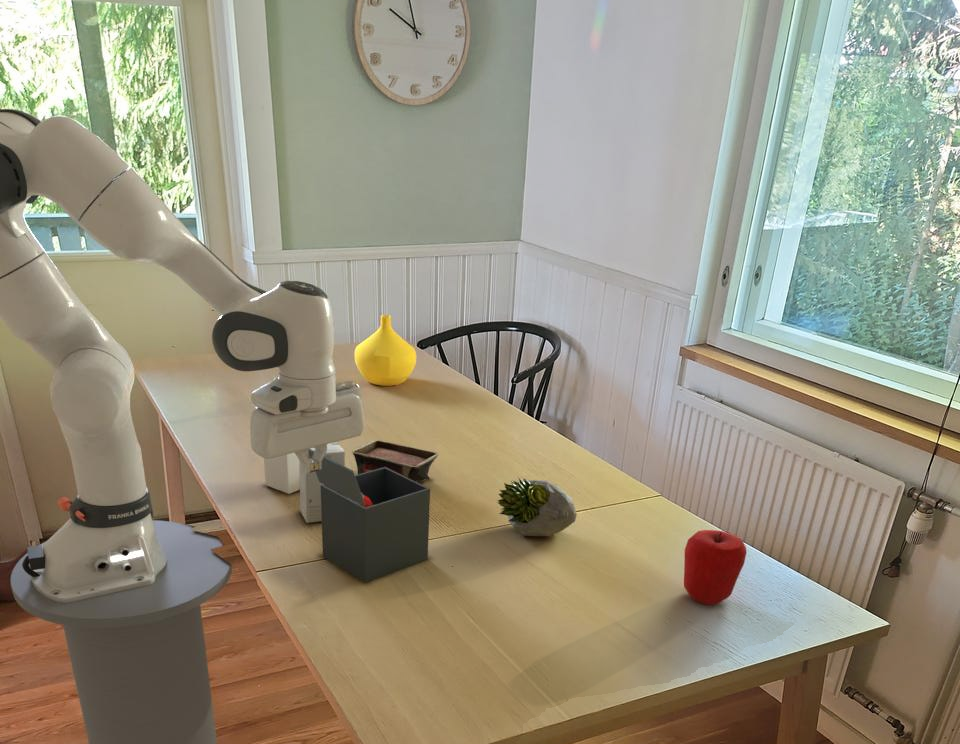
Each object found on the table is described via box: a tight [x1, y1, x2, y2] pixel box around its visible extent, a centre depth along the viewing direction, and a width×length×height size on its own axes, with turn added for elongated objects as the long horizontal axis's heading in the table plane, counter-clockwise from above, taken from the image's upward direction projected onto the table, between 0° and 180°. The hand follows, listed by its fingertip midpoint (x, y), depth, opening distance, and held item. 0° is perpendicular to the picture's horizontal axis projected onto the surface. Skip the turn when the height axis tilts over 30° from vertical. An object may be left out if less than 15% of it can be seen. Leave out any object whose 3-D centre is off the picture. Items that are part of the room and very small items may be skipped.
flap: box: [308, 449, 365, 506], centre depth 150 cm, size 7×13×1 cm
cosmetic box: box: [299, 442, 346, 524], centre depth 175 cm, size 8×6×15 cm
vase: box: [354, 314, 417, 387], centre depth 257 cm, size 18×18×19 cm
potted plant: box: [497, 476, 577, 537], centre depth 176 cm, size 12×13×15 cm
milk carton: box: [263, 453, 300, 495], centre depth 186 cm, size 7×7×19 cm
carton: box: [320, 467, 431, 583], centre depth 161 cm, size 15×13×14 cm
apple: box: [683, 529, 748, 606], centre depth 156 cm, size 11×10×14 cm
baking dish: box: [351, 439, 439, 482], centre depth 194 cm, size 14×18×10 cm
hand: (311, 470), depth 146 cm, fingers closed
